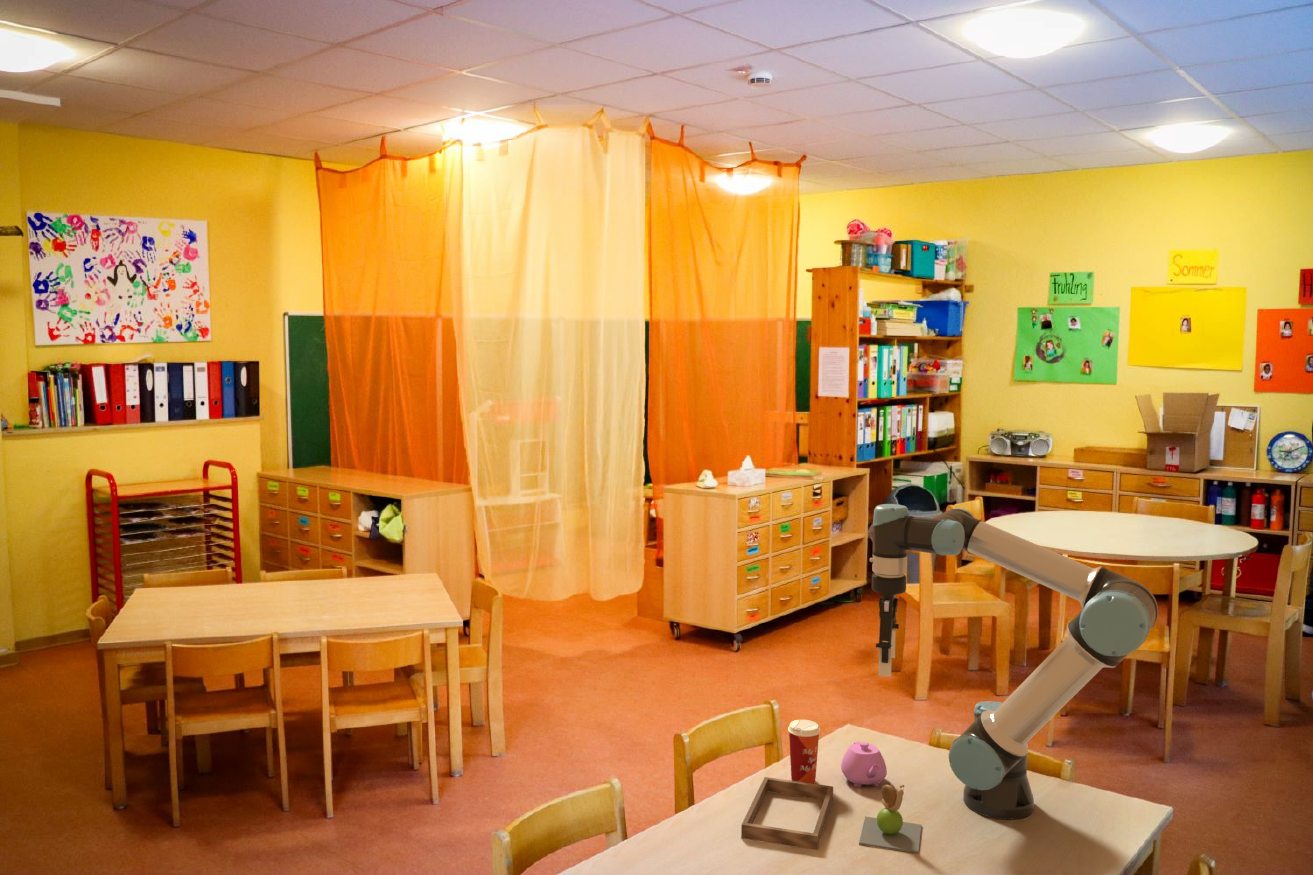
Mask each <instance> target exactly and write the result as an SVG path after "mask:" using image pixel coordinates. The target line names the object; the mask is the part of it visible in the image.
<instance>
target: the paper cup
mask: <svg viewBox="0 0 1313 875" xmlns="http://www.w3.org/2000/svg"><path fill="white" fill-rule="evenodd" d="M787 731H788V734H789V736H788V738H789V755H790V756H789V759H790V761H789V762H790V777H791V781H797V782H805V783H812V784H816V775H817V765H818V764H817V763H818V751H819V738H820V733H821V729H820V726H819V724H818V723H817V722H815V721H814V720H813V721H812V720H809V719H795V720H792V721H791V722H790V723H789V726H788V728H787Z"/></svg>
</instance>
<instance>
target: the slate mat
mask: <svg viewBox="0 0 1313 875" xmlns="http://www.w3.org/2000/svg"><path fill="white" fill-rule="evenodd" d="M863 820H864V821H863V824H862V829H861V833H860V838H859V842H858V844H859V845H861V846H867V847H872V848H878V849H879V848H880V849H888V850H892V851H899V852H907V853H912V854H919V850H920V843H921V842H920V841H921V836H922V835H921V833H922V824H918V823H913V822H905V821H903V825H902V828H901V830H900V831H899V832H898V833H896V834H892V835H890V834H886V833H884V832H882V831H881V830H880V828H879V827H878V825H877V817H871V816H865V817H864V819H863Z"/></svg>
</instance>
